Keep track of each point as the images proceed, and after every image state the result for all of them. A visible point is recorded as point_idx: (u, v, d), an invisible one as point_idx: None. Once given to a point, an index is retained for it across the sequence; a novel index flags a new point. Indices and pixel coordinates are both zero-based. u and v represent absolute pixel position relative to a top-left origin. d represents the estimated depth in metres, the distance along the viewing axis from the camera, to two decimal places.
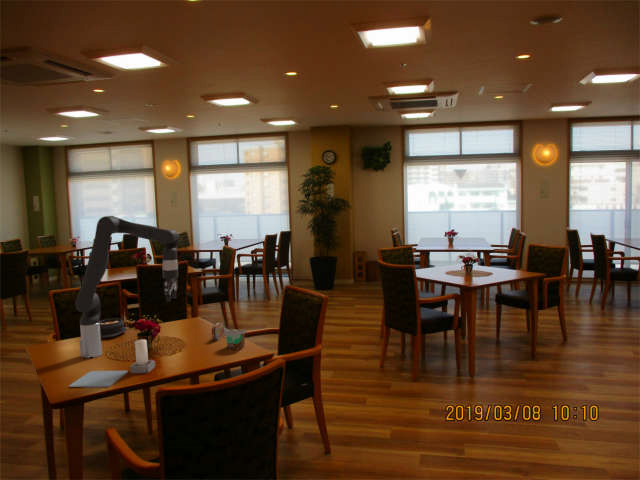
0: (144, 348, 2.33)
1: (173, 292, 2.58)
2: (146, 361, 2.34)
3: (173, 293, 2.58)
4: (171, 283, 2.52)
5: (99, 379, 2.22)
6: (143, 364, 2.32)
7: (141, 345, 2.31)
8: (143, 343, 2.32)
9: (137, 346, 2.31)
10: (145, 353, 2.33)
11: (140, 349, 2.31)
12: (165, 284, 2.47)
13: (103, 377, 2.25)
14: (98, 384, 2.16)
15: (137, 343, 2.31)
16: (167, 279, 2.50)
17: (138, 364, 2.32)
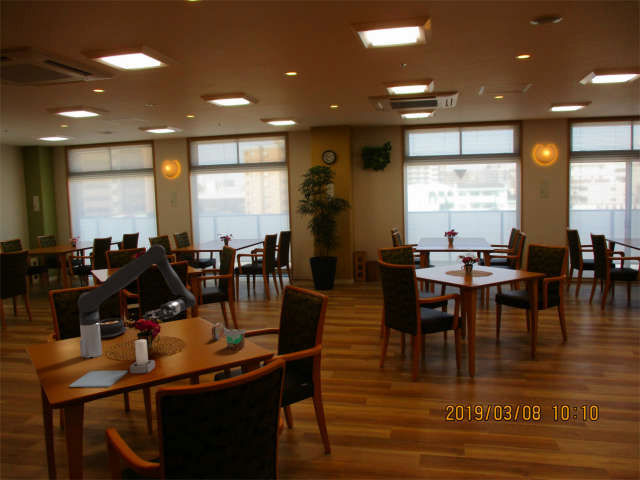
0: (144, 348, 2.33)
1: (148, 316, 2.47)
2: (146, 361, 2.34)
3: (148, 316, 2.47)
4: None
5: (99, 379, 2.22)
6: (143, 364, 2.32)
7: (141, 345, 2.31)
8: (143, 343, 2.32)
9: (137, 346, 2.31)
10: (145, 353, 2.33)
11: (140, 349, 2.31)
12: (174, 313, 2.50)
13: (103, 377, 2.25)
14: (98, 384, 2.16)
15: (137, 343, 2.31)
16: (171, 311, 2.53)
17: (138, 364, 2.32)
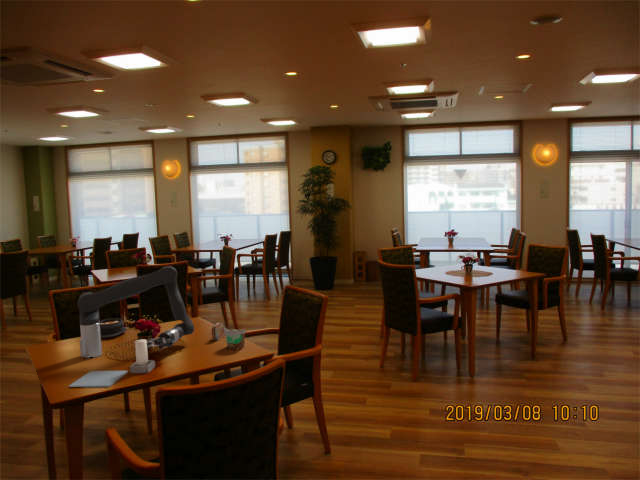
0: (144, 348, 2.33)
1: (147, 344, 2.46)
2: (146, 361, 2.34)
3: (147, 344, 2.46)
4: None
5: (99, 379, 2.22)
6: (143, 364, 2.32)
7: (141, 345, 2.31)
8: (143, 343, 2.32)
9: (137, 346, 2.31)
10: (145, 353, 2.33)
11: (140, 349, 2.31)
12: (173, 341, 2.49)
13: (103, 377, 2.25)
14: (98, 384, 2.16)
15: (137, 343, 2.31)
16: (170, 339, 2.52)
17: (138, 364, 2.32)
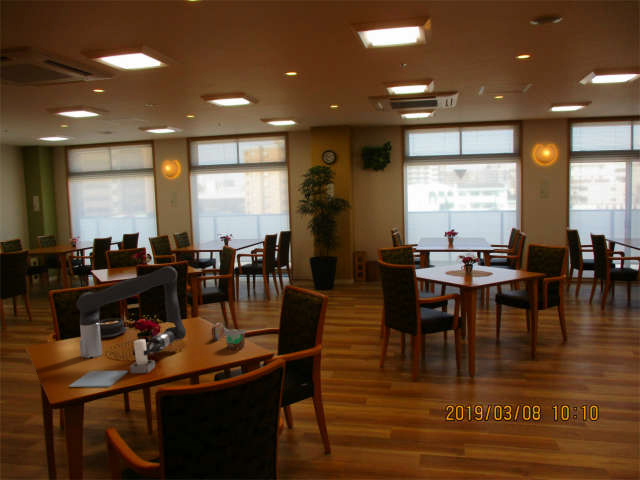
0: (144, 347, 2.33)
1: None
2: (146, 361, 2.34)
3: None
4: None
5: (99, 379, 2.22)
6: (143, 364, 2.32)
7: (140, 345, 2.31)
8: (142, 343, 2.32)
9: (136, 346, 2.31)
10: None
11: (139, 349, 2.31)
12: (161, 347, 2.39)
13: (103, 377, 2.25)
14: (98, 384, 2.16)
15: (136, 343, 2.31)
16: (159, 345, 2.43)
17: (138, 364, 2.32)
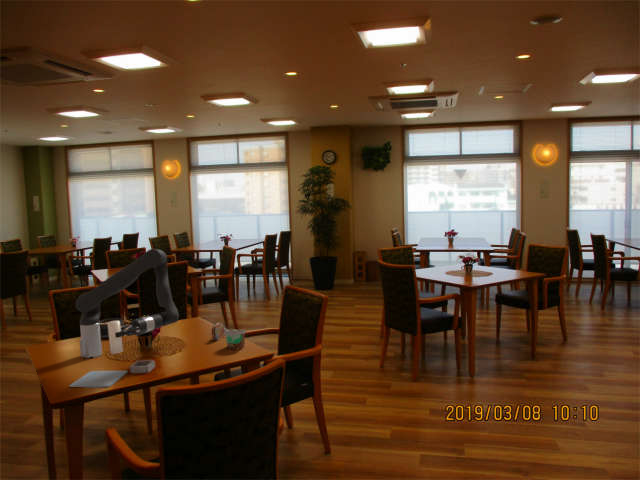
0: (116, 329, 2.24)
1: None
2: (118, 343, 2.25)
3: None
4: (132, 332, 2.32)
5: (99, 379, 2.22)
6: (115, 346, 2.24)
7: (112, 326, 2.23)
8: (114, 324, 2.23)
9: (108, 327, 2.24)
10: None
11: (111, 330, 2.23)
12: (137, 331, 2.29)
13: (103, 377, 2.25)
14: (98, 384, 2.16)
15: (108, 324, 2.23)
16: (139, 328, 2.33)
17: (110, 346, 2.25)
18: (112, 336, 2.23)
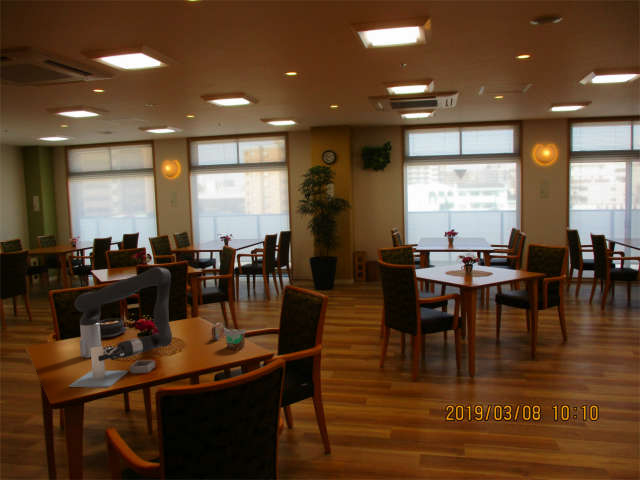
0: (97, 355, 2.21)
1: None
2: (100, 369, 2.22)
3: None
4: None
5: (99, 379, 2.22)
6: (96, 372, 2.21)
7: (94, 352, 2.21)
8: (96, 350, 2.21)
9: None
10: (98, 361, 2.21)
11: (93, 356, 2.21)
12: (121, 354, 2.24)
13: None
14: (98, 384, 2.16)
15: (91, 349, 2.21)
16: (123, 351, 2.28)
17: (92, 371, 2.22)
18: (93, 362, 2.21)
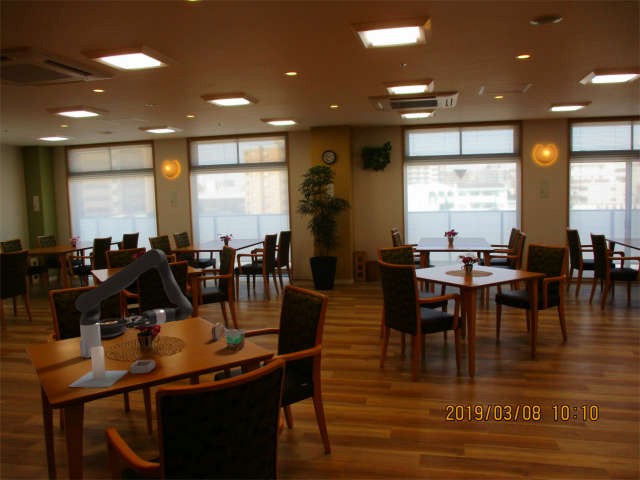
0: (98, 356, 2.21)
1: (124, 321, 2.36)
2: (100, 370, 2.22)
3: (123, 321, 2.35)
4: (141, 323, 2.36)
5: None
6: (96, 372, 2.21)
7: (94, 352, 2.20)
8: (96, 350, 2.20)
9: (91, 352, 2.21)
10: (98, 361, 2.21)
11: (93, 356, 2.21)
12: (146, 322, 2.32)
13: None
14: (98, 384, 2.16)
15: (91, 349, 2.21)
16: (147, 320, 2.36)
17: (92, 371, 2.22)
18: (94, 362, 2.21)
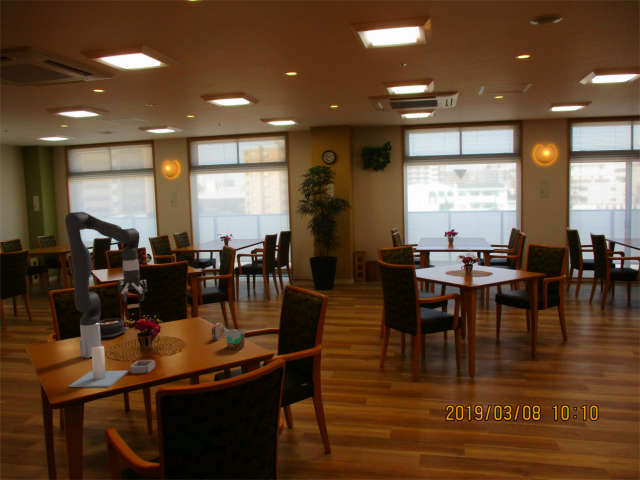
0: (98, 355, 2.21)
1: (125, 294, 2.48)
2: (100, 369, 2.22)
3: (125, 295, 2.48)
4: None
5: (99, 379, 2.22)
6: (96, 372, 2.21)
7: (94, 352, 2.21)
8: (96, 350, 2.21)
9: None
10: (99, 361, 2.21)
11: (93, 356, 2.21)
12: (145, 283, 2.46)
13: None
14: (98, 384, 2.16)
15: (91, 349, 2.22)
16: (138, 278, 2.46)
17: None
18: (94, 362, 2.21)
